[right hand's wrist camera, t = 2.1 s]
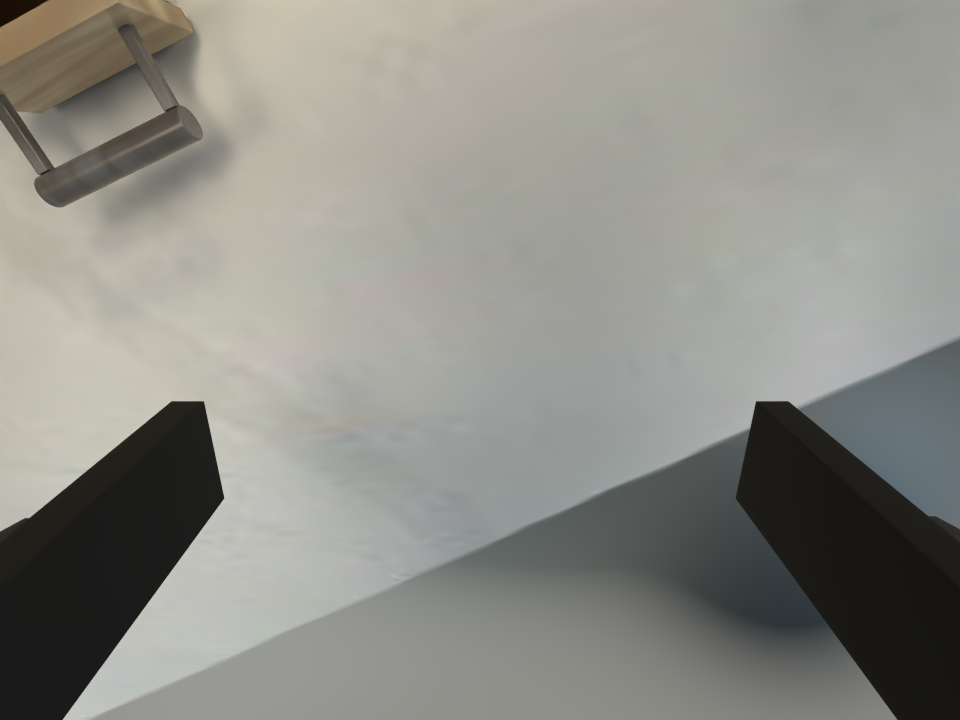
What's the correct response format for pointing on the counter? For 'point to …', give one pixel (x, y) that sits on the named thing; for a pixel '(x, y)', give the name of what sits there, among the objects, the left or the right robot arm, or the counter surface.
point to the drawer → (88, 82)
